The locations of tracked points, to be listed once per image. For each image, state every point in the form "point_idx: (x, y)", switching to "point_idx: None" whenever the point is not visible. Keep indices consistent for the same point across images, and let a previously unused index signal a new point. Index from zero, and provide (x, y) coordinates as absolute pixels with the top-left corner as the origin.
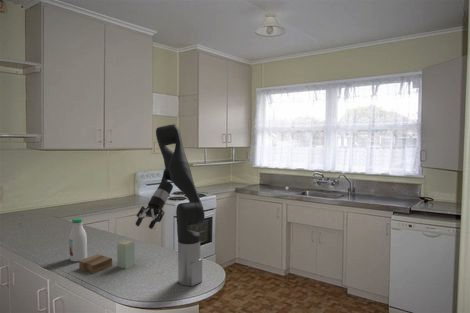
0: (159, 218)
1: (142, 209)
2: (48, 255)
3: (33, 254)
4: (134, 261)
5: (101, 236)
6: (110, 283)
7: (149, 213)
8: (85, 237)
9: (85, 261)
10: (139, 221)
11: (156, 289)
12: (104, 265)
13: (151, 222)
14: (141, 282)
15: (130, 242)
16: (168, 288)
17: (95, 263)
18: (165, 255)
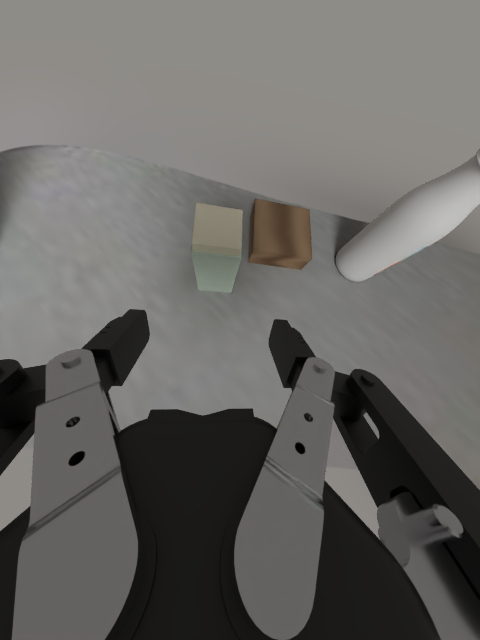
0: (2, 446)
1: (439, 507)
2: (419, 257)
3: (445, 250)
4: (197, 284)
5: (475, 433)
6: (174, 188)
7: (194, 443)
8: (395, 228)
9: (294, 211)
10: (282, 350)
11: (39, 191)
12: (251, 235)
13: (112, 331)
14: (104, 210)
15: (195, 228)
16: (6, 202)
17: (261, 208)
18: (153, 399)
